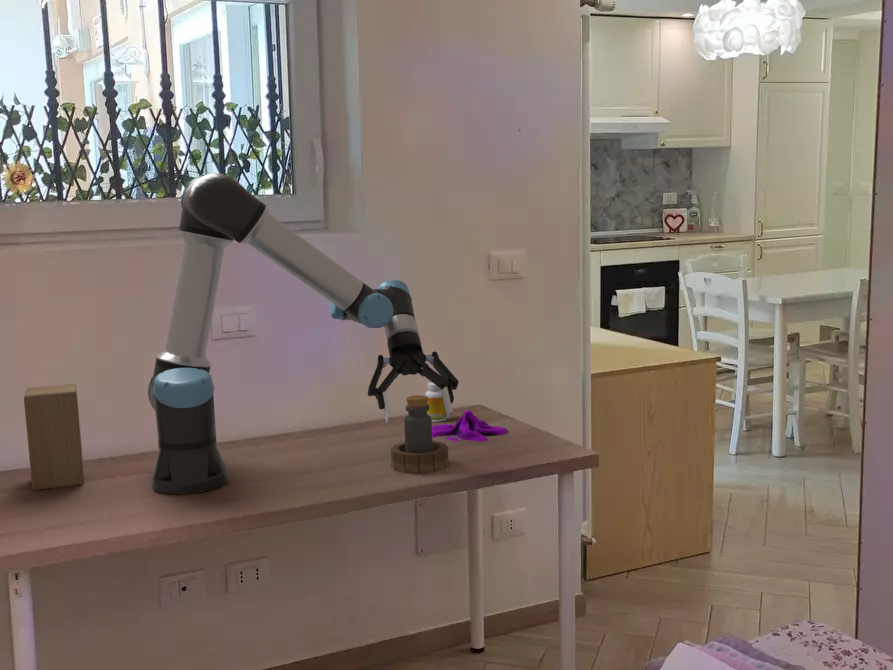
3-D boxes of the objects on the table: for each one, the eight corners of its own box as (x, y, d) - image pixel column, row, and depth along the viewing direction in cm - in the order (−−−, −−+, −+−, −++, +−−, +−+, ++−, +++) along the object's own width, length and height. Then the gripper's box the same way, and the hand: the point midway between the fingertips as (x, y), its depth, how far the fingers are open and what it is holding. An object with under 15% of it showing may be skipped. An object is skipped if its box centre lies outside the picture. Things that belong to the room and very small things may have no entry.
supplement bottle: (446, 422, 248) (445, 385, 246) (425, 422, 248) (424, 385, 246) (446, 417, 253) (445, 380, 252) (426, 417, 253) (425, 381, 252)
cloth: (412, 434, 238) (411, 410, 237) (470, 422, 249) (469, 398, 248) (468, 451, 221) (468, 425, 220) (528, 437, 232) (528, 412, 231)
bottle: (401, 467, 207) (398, 399, 205) (414, 460, 213) (412, 393, 210) (424, 470, 205) (422, 401, 203) (437, 463, 210) (435, 395, 208)
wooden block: (34, 478, 208) (25, 387, 205) (84, 472, 211) (76, 383, 208) (32, 491, 199) (23, 396, 196) (84, 484, 202) (76, 391, 199)
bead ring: (398, 475, 201) (397, 457, 201) (387, 461, 213) (386, 443, 212) (454, 469, 204) (453, 451, 204) (439, 455, 216) (439, 438, 215)
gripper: (453, 345, 226) (472, 422, 214) (347, 352, 220) (361, 431, 208) (458, 326, 220) (478, 403, 208) (350, 332, 214) (364, 413, 202)
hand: (419, 417), depth 208 cm, fingers open, 13 cm apart
